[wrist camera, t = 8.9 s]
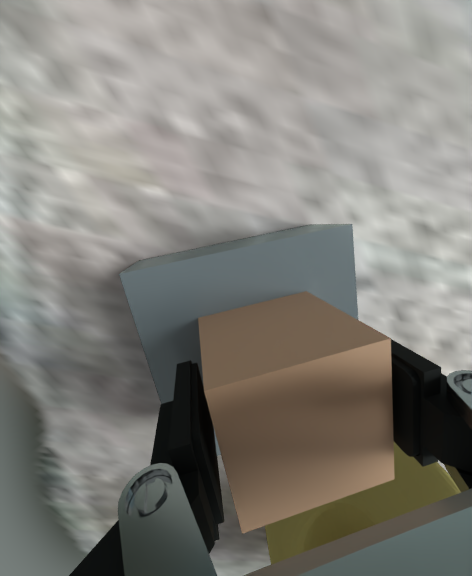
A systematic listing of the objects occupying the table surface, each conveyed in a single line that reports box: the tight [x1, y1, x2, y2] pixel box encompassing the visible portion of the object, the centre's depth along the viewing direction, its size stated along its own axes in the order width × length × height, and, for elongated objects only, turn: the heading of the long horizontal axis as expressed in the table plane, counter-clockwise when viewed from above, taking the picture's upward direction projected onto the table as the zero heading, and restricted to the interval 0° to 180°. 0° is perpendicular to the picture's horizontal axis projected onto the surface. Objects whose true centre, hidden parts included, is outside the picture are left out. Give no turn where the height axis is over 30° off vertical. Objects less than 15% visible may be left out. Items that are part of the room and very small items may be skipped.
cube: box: [198, 291, 395, 534], centre depth 9 cm, size 5×5×5 cm
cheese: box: [265, 442, 461, 565], centre depth 15 cm, size 10×11×10 cm
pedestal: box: [119, 224, 358, 456], centre depth 14 cm, size 10×10×4 cm
